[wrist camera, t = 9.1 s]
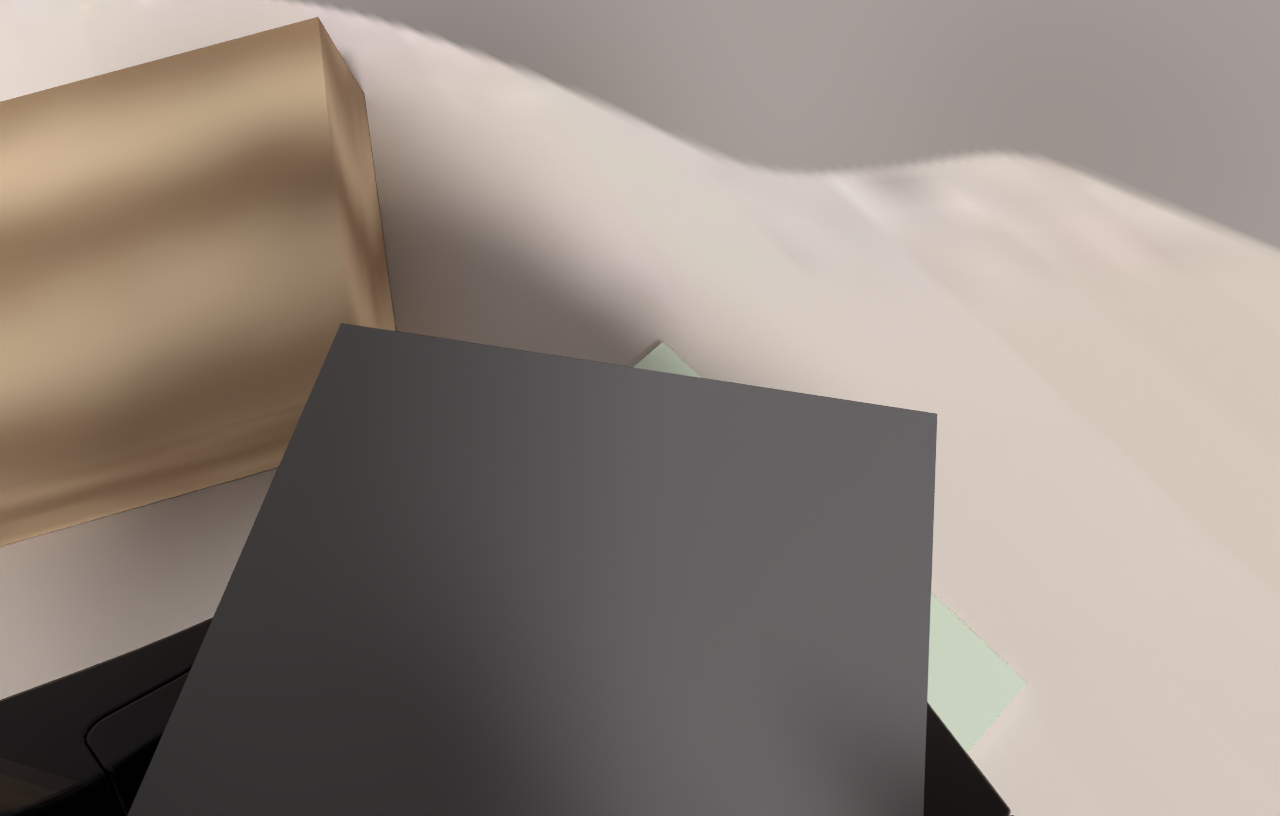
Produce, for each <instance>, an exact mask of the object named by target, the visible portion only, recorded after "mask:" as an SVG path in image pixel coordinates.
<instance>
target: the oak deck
mask: <svg viewBox="0 0 1280 816" xmlns="http://www.w3.org/2000/svg"><path fill="white" fill-rule="evenodd" d="M341 323H345V324H352V325H358V326H365V327H371V328H378V329H384V330H391V331H396V330H395V322H394V315H393V307H392V300H391V292H390V285H389V277H388V270H387V262H386V255H385V247H384V240H383V232H382V225H381V217H380V210H379V202H378V195H377V187H376V180H375V172H374V165H373V157H372V150H371V142H370V135H369V127H368V120H367V113H366V105H365V98H364V93H363V91H362V90H361V88H360V86H359V85H358V83H357V81H356V80H355V78H354V76H353V75H352V73H351V71H350V70H349V68H348V66H347V65H346V63H345V61H344V60H343V58H342V56H341V55H340V53H339V51H338V49H337V48H336V46H335V44H334V43H333V41H332V39H331V38H330V36H329V34H328V33H327V31H326V29H325V28H324V26H323V24H322V23H321V21H320V19H319V18H318V17H316V18H312V19H309V20H305V21H301V22H297V23H294V24H290V25H286V26H282V27H279V28H275V29H271V30H268V31H264V32H260V33H256V34H253V35H249V36H245V37H241V38H238V39H234V40H230V41H226V42H223V43H219V44H215V45H211V46H208V47H204V48H200V49H196V50H193V51H189V52H185V53H181V54H178V55H174V56H170V57H167V58H163V59H159V60H155V61H152V62H148V63H144V64H140V65H137V66H133V67H129V68H125V69H122V70H118V71H114V72H110V73H107V74H103V75H99V76H95V77H92V78H88V79H84V80H81V81H77V82H73V83H69V84H66V85H62V86H58V87H54V88H51V89H47V90H43V91H39V92H36V93H32V94H28V95H24V96H21V97H17V98H13V99H9V100H6V101H2V102H0V546H3V545H7V544H10V543H14V542H17V541H21V540H24V539H28V538H31V537H35V536H38V535H42V534H46V533H49V532H53V531H56V530H60V529H63V528H67V527H70V526H74V525H77V524H81V523H84V522H88V521H91V520H95V519H98V518H102V517H105V516H109V515H112V514H116V513H119V512H123V511H126V510H130V509H133V508H137V507H140V506H144V505H147V504H151V503H154V502H158V501H161V500H165V499H168V498H172V497H175V496H179V495H182V494H186V493H190V492H193V491H197V490H200V489H204V488H207V487H211V486H214V485H218V484H221V483H225V482H228V481H232V480H235V479H239V478H242V477H246V476H249V475H253V474H256V473H260V472H263V471H267V470H270V469H274V468H277V467H279V465H280V462H281V460H282V458H283V455H284V453H285V451H286V449H287V446H288V444H289V442H290V439H291V437H292V435H293V432H294V430H295V428H296V426H297V423H298V421H299V419H300V416H301V414H302V412H303V409H304V407H305V405H306V402H307V400H308V398H309V396H310V393H311V391H312V389H313V386H314V384H315V382H316V379H317V377H318V375H319V372H320V370H321V368H322V366H323V363H324V361H325V359H326V356H327V354H328V352H329V349H330V347H331V345H332V342H333V340H334V338H335V336H336V333H337V331H338V329H339V326H340V324H341Z"/></svg>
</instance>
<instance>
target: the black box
mask: <svg viewBox="0 0 1280 816" xmlns="http://www.w3.org/2000/svg"><path fill="white" fill-rule="evenodd" d="M936 432H937V414H935V413H928V412H922V411H915V410H909V409H902V408H895V407H889V406H882V405H876V404H869V403H863V402H856V401H850V400H843V399H837V398H830V397H823V396H817V395H810V394H804V393H797V392H791V391H784V390H778V389H771V388H764V387H758V386H751V385H745V384H738V383H732V382H725V381H719V380H712V379H705V378H699V377H692V376H686V375H679V374H673V373H666V372H660V371H653V370H646V369H640V368H633V367H627V366H620V365H614V364H607V363H601V362H594V361H587V360H581V359H574V358H568V357H561V356H555V355H548V354H542V353H535V352H528V351H522V350H515V349H509V348H502V347H496V346H489V345H483V344H476V343H470V342H463V341H456V340H450V339H443V338H437V337H430V336H424V335H417V334H411V333H404V332H397V331H391V330H384V329H378V328H371V327H365V326H358V325H352V324H345V323H341V324H340V326H339V329H338V331H337V333H336V336H335V338H334V340H333V342H332V345H331V347H330V349H329V352H328V354H327V356H326V359H325V361H324V363H323V366H322V368H321V370H320V372H319V375H318V377H317V379H316V382H315V384H314V386H313V389H312V391H311V393H310V396H309V398H308V400H307V402H306V405H305V407H304V409H303V412H302V414H301V416H300V419H299V421H298V423H297V426H296V428H295V430H294V432H293V435H292V437H291V439H290V442H289V444H288V446H287V449H286V451H285V453H284V455H283V458H282V460H281V462H280V465H279V467H278V469H277V472H276V474H275V476H274V479H273V481H272V483H271V485H270V488H269V490H268V492H267V495H266V497H265V499H264V502H263V504H262V506H261V509H260V511H259V513H258V515H257V518H256V520H255V522H254V525H253V527H252V529H251V532H250V534H249V536H248V539H247V541H246V543H245V545H244V548H243V550H242V552H241V555H240V557H239V559H238V562H237V564H236V566H235V569H234V571H233V573H232V575H231V578H230V580H229V582H228V585H227V587H226V589H225V592H224V594H223V596H222V599H221V601H220V603H219V605H218V608H217V610H216V612H215V615H214V617H213V619H212V622H211V624H210V626H209V629H208V631H207V633H206V635H205V638H204V640H203V642H202V645H201V647H200V649H199V652H198V654H197V656H196V659H195V661H194V663H193V665H192V668H191V670H190V672H189V675H188V677H187V679H186V682H185V684H184V686H183V689H182V691H181V693H180V695H179V698H178V700H177V702H176V705H175V707H174V709H173V712H172V714H171V716H170V719H169V721H168V723H167V725H166V728H165V730H164V732H163V735H162V737H161V739H160V742H159V744H158V746H157V749H156V751H155V753H154V755H153V758H152V760H151V762H150V765H149V767H148V769H147V772H146V774H145V776H144V779H143V781H142V783H141V785H140V788H139V790H138V792H137V795H136V797H135V799H134V802H133V804H132V806H131V809H130V811H129V813H128V815H127V816H923V810H924V781H925V752H926V723H927V694H928V665H929V636H930V606H931V577H932V548H933V519H934V490H935V461H936Z"/></svg>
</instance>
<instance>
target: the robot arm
mask: <svg viewBox="0 0 1280 816" xmlns="http://www.w3.org/2000/svg"><path fill="white" fill-rule="evenodd" d="M212 619H213V618H211V619H208V620H206V621H204V622H201V623H199V624H197V625H195V626H192V627H190V628H188V629H185V630H183V631H180V632H178V633H175V634H173V635H171V636H168V637H166V638H163V639H161V640H158V641H156V642H154V643H151V644H149V645H146V646H144V647H141V648H139V649H137V650H134V651H131V652H129V653H126V654H123V655H121V656H118V657H116V658H113V659H110V660H108V661H105V662H102V663H100V664H97V665H94V666H92V667H89V668H86V669H84V670H81V671H78V672H76V673H73V674H70V675H67V676H65V677H62V678H59V679H56V680H54V681H51V682H48V683H46V684H43V685H40V686H37V687H35V688H32V689H29V690H26V691H24V692H21V693H18V694H15V695H13V696H10V697H7V698H5V699H2V700H0V816H127V815H128V813H129V811H130V809H131V806H132V804H133V802H134V799H135V797H136V795H137V792H138V790H139V788H140V785H141V783H142V781H143V779H144V776H145V774H146V772H147V769H148V767H149V765H150V762H151V760H152V758H153V755H154V753H155V751H156V749H157V746H158V744H159V742H160V739H161V737H162V735H163V732H164V730H165V728H166V725H167V723H168V721H169V719H170V716H171V714H172V712H173V709H174V707H175V705H176V702H177V700H178V698H179V695H180V693H181V691H182V689H183V686H184V684H185V682H186V679H187V677H188V675H189V672H190V670H191V668H192V665H193V663H194V661H195V659H196V656H197V654H198V652H199V649H200V647H201V645H202V642H203V640H204V638H205V635H206V633H207V631H208V629H209V626H210V624H211V622H212ZM1010 813H1011V811H1010V808H1009V807H1008V806H1007V804H1006V803H1005V802H1004V801H1003V799H1002V798H1001V797H1000V795H999V794H998V793H997V791H996V790H995V789H994V788H993V786H992V785H991V784H990V782H989V781H988V780H987V778H986V777H985V776H984V775H983V773H982V772H981V771H980V769H979V768H978V767H977V765H976V764H975V763H974V762H973V760H972V759H971V758H970V756H969V755H968V754H967V752H966V751H965V750H964V749H963V747H962V746H961V745H960V743H959V742H958V741H957V739H956V738H955V737H954V736H953V734H952V733H951V732H950V730H949V729H948V728H947V727H946V725H945V724H944V723H943V721H942V720H941V719H940V717H939V716H938V715H937V714H936V712H935V711H934V710H933V708H932V707H931V706H930V704H929V703H928V702H927V723H926V752H925V781H924V810H923V816H1009V815H1010ZM1011 816H1013V815H1011Z"/></svg>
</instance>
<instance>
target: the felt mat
mask: <svg viewBox="0 0 1280 816" xmlns="http://www.w3.org/2000/svg"><path fill="white" fill-rule="evenodd" d="M633 368H640V369H646V370H653V371H660V372H666V373H673V374H679V375H686V376H692V377H699V378H702V377H700V376H699V375H698V374H697V373H696V372H695V371H694V370H693V369H692V368H691V367H690V366H689V365H688V364H687V363H686V362H684V361H683V360H682V359H681V358H680V357H679V356H678V355H677V354H676V353H675V352H674V351H673V350H672V349H671V348H670V347H668V346H667V345H666V344H665V343H664V342H662V343H661V344H660V345H658V346H657V347H656V348H655V349H654V350H653V351H651V352H650V353H649V354H648V355H647V356H645V357H644V358H643V359H642V360H641V361H640V362H638V363H637V364H636V365H635V366H634V367H633ZM1026 684H1027V682H1026V681H1025V680H1024V679H1023V678H1022V677H1021V676H1020V675H1019V674H1018V673H1016V672H1015V671H1014V670H1013V669H1012V668H1011V667H1010V666H1009V665H1008V664H1007V663H1006V662H1005V661H1004V660H1003V659H1002V658H1000V657H999V656H998V655H997V654H996V653H995V652H994V651H993V650H992V649H991V648H990V647H989V646H988V645H987V644H985V643H984V642H983V641H982V640H981V639H980V638H979V637H978V636H977V635H976V634H975V633H974V632H973V631H972V630H971V629H969V628H968V627H967V626H966V625H965V624H964V623H963V622H962V621H961V620H960V619H959V618H958V617H957V616H956V615H955V614H953V613H952V612H951V611H950V610H949V609H948V608H947V607H946V606H945V605H944V604H943V603H942V602H941V601H940V600H939V599H937V598H936V597H935V596H934V595H933V594H932V593H931V606H930V636H929V665H928V694H927V702H928V703H929V704H930V706H931V707H932V708H933V710H934V711H935V712H936V714H937V715H938V716H939V717H940V719H941V720H942V721H943V723H944V724H945V725H946V727H947V728H948V729H949V730H950V732H951V733H952V734H953V736H954V737H955V738H956V739H957V741H958V742H959V743H960V745H961V746H962V747H963V749H964V750H965V751H966V752H967V753H968V752H969V751H970V750H971V749H972V748H973V746H974V745H975V744H976V743H977V742H978V740H979V739H980V738H981V737H982V736H983V735H984V733H985V732H986V731H987V730H988V729H989V728H990V726H991V725H992V724H993V723H994V722H995V720H996V719H997V718H998V717H999V716H1000V715H1001V713H1002V712H1003V711H1004V710H1005V709H1006V708H1007V706H1008V705H1009V704H1010V703H1011V702H1012V700H1013V699H1014V698H1015V697H1016V696H1017V695H1018V693H1019V692H1020V691H1021V690H1022V689H1023V688H1024V686H1025V685H1026Z"/></svg>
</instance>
